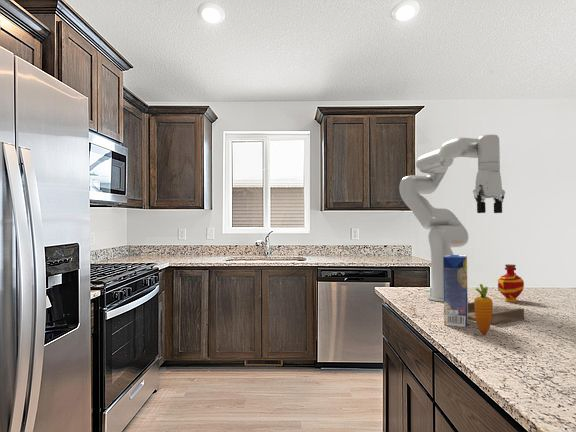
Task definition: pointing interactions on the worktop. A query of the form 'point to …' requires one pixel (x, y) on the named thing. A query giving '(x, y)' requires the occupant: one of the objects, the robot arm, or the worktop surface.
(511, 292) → the potion bottle
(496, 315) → the u rest
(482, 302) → the carrot
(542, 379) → the worktop surface
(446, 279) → the beverage box
